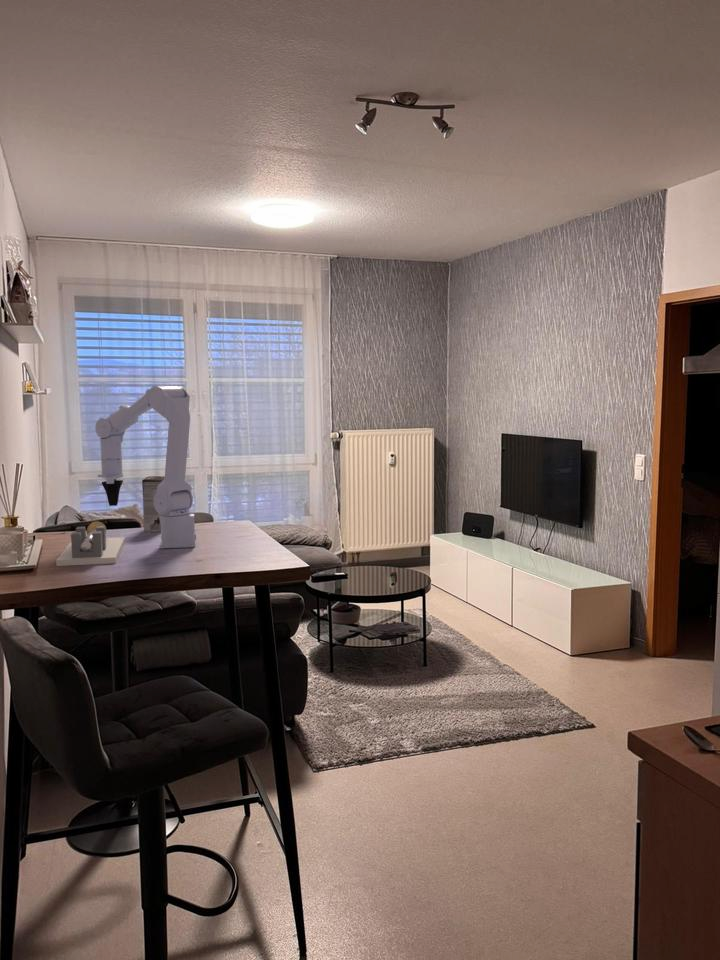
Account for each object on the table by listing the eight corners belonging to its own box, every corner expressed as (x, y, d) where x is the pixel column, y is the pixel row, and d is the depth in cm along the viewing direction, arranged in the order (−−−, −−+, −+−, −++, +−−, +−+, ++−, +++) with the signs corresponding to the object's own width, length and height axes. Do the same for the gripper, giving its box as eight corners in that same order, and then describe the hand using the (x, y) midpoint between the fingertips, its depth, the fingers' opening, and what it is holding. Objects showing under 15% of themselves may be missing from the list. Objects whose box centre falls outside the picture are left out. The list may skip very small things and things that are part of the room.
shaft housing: (124, 542, 220) (123, 516, 219) (115, 563, 194) (114, 533, 193) (72, 544, 217) (71, 518, 216) (56, 566, 191) (55, 536, 190)
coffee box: (150, 526, 246) (148, 476, 244) (170, 526, 246) (168, 475, 244) (143, 531, 237) (141, 479, 235) (164, 531, 237) (162, 479, 235)
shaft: (106, 538, 215) (105, 521, 215) (96, 556, 193) (95, 536, 192) (87, 539, 214) (86, 521, 214) (75, 557, 192) (74, 537, 191)
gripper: (99, 457, 231) (101, 502, 233) (94, 461, 217) (96, 509, 219) (124, 456, 233) (126, 501, 235) (120, 461, 219) (122, 508, 221)
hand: (113, 505), depth 227 cm, fingers closed
